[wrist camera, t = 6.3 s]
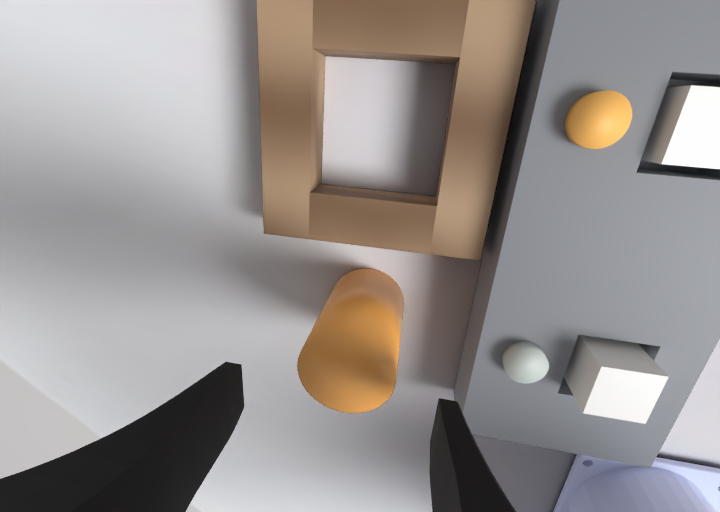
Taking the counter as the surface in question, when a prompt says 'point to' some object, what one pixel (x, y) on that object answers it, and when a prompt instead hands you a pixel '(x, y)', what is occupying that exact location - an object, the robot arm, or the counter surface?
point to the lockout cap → (355, 343)
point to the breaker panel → (596, 229)
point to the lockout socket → (389, 42)
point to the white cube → (686, 128)
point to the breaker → (614, 379)
